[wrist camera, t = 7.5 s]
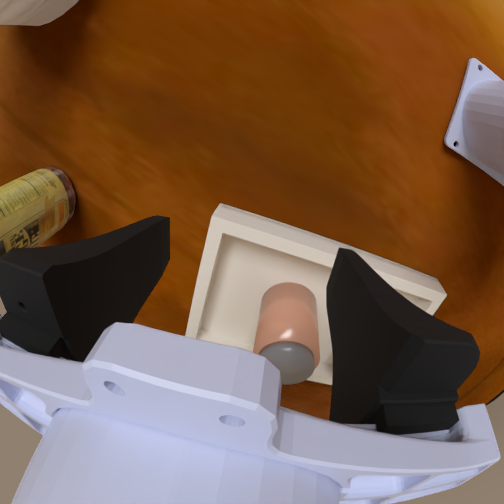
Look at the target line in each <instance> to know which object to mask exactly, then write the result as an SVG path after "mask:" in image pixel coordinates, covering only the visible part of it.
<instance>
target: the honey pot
mask: <svg viewBox="0 0 504 504" xmlns="http://www.w3.org/2000/svg"><path fill="white" fill-rule="evenodd" d="M78 1H79V0H0V25H30V26H40V25H43V24H47V23H50V22H51V21H53V20H55V19H56V18H58V17H60V16H62V15H63V14H64V13H65V12H66V11H68V10H69V9H70V8H71V7H73V6H74V5H75V4H76V3H77V2H78Z"/></svg>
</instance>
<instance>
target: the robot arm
mask: <svg viewBox="0 0 504 504" xmlns="http://www.w3.org/2000/svg"><path fill="white" fill-rule="evenodd" d="M478 65H479V67H480V70H479V69H478ZM455 141H456V146H455V147H454V145H453V144H454V142H455ZM444 143H445V145H446V146H447V147H449V148H451V149H452V150H454V151H455V152H457V153H458V154H460V155H461V156H463V157H464V158H466V159H467V160H469V161H470V162H472V163H473V164H475V165H476V166H477V167H479V168H480V169H482V170H483V171H484V172H486V173H487V174H488V175H490V176H491V177H492V178H494V179H495V180H496V181H498V182H499V183H500V184H501V185H503V186H504V81H502V80H501V79H500V78H499V77H498V76H497V75H495V74H494V73H493V72H492V71H491V70H489V69H488V68H487V67H486V66H485V65H483V64H482V63H481V62H480V61H478V60H477V59H475V58H471V59H469V62H468V66H467V69H466V73H465V77H464V80H463V84H462V87H461V90H460V94H459V97H458V100H457V103H456V106H455V109H454V112H453V115H452V118H451V121H450V124H449V127H448V129H447V132H446V135H445V137H444ZM169 259H170V217H163V216H152V217H149V218H146V219H143V220H141V221H138V222H135V223H133V224H130V225H128V226H125V227H123V228H120V229H117V230H114V231H111V232H109V233H106V234H103V235H100V236H97V237H94V238H90V239H86V240H82V241H78V242H73V243H68V244H63V245H56V246H48V247H36V248H12V249H10V250H9V251H8V252H7V253H6V254H4V255H3V256H2V257H1V258H0V297H1V299H2V302H3V304H4V306H5V309H6V311H7V313H6V314H5V315H4V316H3V317H2V316H1V315H0V403H1V404H2V405H3V406H4V407H6V408H7V409H8V410H9V411H11V412H12V413H13V414H14V415H16V416H17V417H18V418H20V419H21V420H22V421H24V422H25V423H26V424H28V425H29V426H30V427H32V428H33V429H35V430H36V431H37V432H39V433H40V434H42V435H43V437H42V439H41V441H40V443H39V445H38V447H37V449H36V451H35V453H34V455H33V457H32V459H31V461H30V463H29V465H28V467H27V469H26V471H25V474H24V476H23V478H22V480H21V482H20V485H19V487H18V489H17V492H16V494H15V496H14V499H13V501H12V503H11V504H393V503H397V502H402V501H406V500H410V499H414V498H418V497H422V496H426V495H430V494H434V493H437V492H441V491H444V490H448V489H451V488H455V487H457V486H458V485H460V484H462V483H464V482H466V481H467V480H469V479H471V478H472V477H474V476H476V475H477V474H479V473H481V472H482V471H484V470H485V469H487V468H488V467H489V466H491V465H493V464H494V463H496V462H497V461H499V459H500V453H499V449H498V446H497V442H496V438H495V435H494V432H493V428H492V425H491V422H490V419H489V416H488V413H487V410H486V407H485V404H476V405H468V406H463V407H461V408H459V409H457V410H456V407H455V403H454V402H456V401H457V400H458V398H459V397H458V394H457V391H456V390H457V389H458V388H459V387H460V386H461V385H462V383H463V382H464V381H465V380H466V379H467V378H468V377H469V375H470V374H471V373H472V372H473V370H474V369H475V367H476V365H477V363H478V361H479V358H480V351H479V348H478V346H477V344H476V342H475V340H474V338H473V336H472V334H470V333H468V332H465V331H463V330H461V329H458V328H456V327H454V326H451V325H449V324H447V323H445V322H443V321H441V320H439V319H437V318H436V317H434V316H432V315H430V314H429V313H427V312H425V311H424V310H422V309H421V308H419V307H418V306H416V305H415V304H413V303H412V302H410V301H409V300H408V299H406V298H405V297H404V296H402V295H401V294H400V293H399V292H397V291H396V290H395V289H394V288H393V287H391V286H390V285H389V284H388V283H387V282H386V281H385V280H384V279H383V278H382V277H381V276H380V275H379V274H377V273H376V272H375V271H374V270H373V269H372V268H371V267H370V266H369V265H368V264H367V263H366V262H365V260H364V259H362V258H361V257H360V256H359V255H358V254H357V253H356V252H355V251H354V250H351V249H346V248H340V247H339V249H338V252H337V255H336V258H335V262H334V265H333V268H332V271H331V274H330V277H329V280H328V283H327V286H326V308H327V315H328V322H329V329H330V336H331V344H332V355H333V376H332V397H331V409H330V419H329V420H326V419H322V418H318V417H315V416H311V415H308V414H304V413H301V412H298V411H294V410H291V409H288V408H285V407H282V406H280V398H281V386H282V384H281V375H280V371H279V370H278V369H277V368H276V367H275V366H274V365H273V364H272V363H271V362H270V361H269V360H268V359H266V358H265V357H264V356H261V355H258V354H256V353H253V352H250V351H247V350H245V349H242V348H238V347H232V346H227V345H222V344H217V343H213V342H208V341H203V340H199V339H195V338H190V337H186V336H182V335H178V334H174V333H170V332H166V331H162V330H158V329H154V328H150V327H147V326H143V325H139V324H133V322H134V319H135V317H136V316H137V314H138V312H139V310H140V309H141V307H142V306H143V304H144V303H145V301H146V300H147V298H148V296H149V295H150V293H151V292H152V290H153V289H154V287H155V286H156V284H157V283H158V281H159V280H160V278H161V276H162V275H163V272H164V270H165V268H166V266H167V264H168V262H169Z"/></svg>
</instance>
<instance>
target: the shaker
mask: <svg viewBox="0 0 504 504" xmlns="http://www.w3.org/2000/svg"><path fill="white" fill-rule="evenodd" d="M253 353H256V354H258V355H261V356H264V357H265V358H266V359H268V360H269V361H270V362H271V363H272V364H273V365H274V366H275V367H276V368H277V369H278V370H279V371H280V375H281V384H287V385H288V384H296V383H300V382H302V381H304V380H306V379H308V378H309V377H310V376H311V375H312V374H313V372H314V370H315V369H316V367H317V366H318V364H319V362H320V347H319V331H318V317H317V304H316V298H315V296H314V294H313V293H312V292H311V291H310V290H309V289H308V288H307V287H305V286H303V285H301V284H298V283H293V282H285V283H279V284H276V285H274V286H272V287H270V288H269V289H268V290H267V291H266V292H265V293H264V295H263V297H262V300H261V305H260V312H259V318H258V324H257V330H256V336H255V342H254V348H253Z"/></svg>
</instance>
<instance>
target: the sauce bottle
mask: <svg viewBox="0 0 504 504" xmlns="http://www.w3.org/2000/svg"><path fill="white" fill-rule="evenodd" d="M75 204H76V193H75V191H74V190H73V186H72V183H71V181H70V180H69V178H68V177H67V175H66V174H65V173H64V172H63V171H61V170H60V169H57V168H55V167H46V168H44V169H38V170H36V171H34V172H31V173H29V174H27V175H25V176H22V177H20V178H18V179H16V180H14V181H12V182H10V183H8V184H5V185H3V186H1V187H0V258H1V257H2V256H3V255H4V254H6V253H7V252H8V251H9V250H10V249H12V248H36V247H38V246H39V245H40V244H42V243H43V242H44V241H46V240H47V239H48V238H49V237H51V236H52V235H53V234H55V233H56V232H57V231H59V230H60V229H61V228H62V227H63V226H64V225H65V224H66V223H68V221H69V220H70V219H71V218H72V216H73V213H74V210H75Z"/></svg>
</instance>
